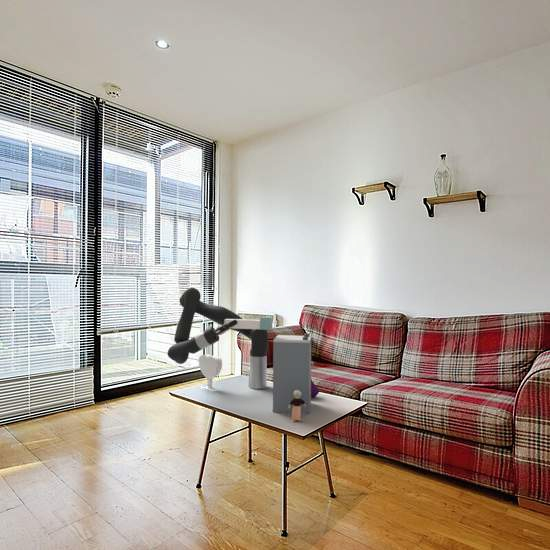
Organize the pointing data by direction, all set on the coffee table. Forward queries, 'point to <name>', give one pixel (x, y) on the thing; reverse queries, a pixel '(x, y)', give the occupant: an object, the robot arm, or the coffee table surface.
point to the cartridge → (252, 323)
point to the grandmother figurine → (296, 406)
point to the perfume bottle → (313, 387)
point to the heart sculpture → (210, 368)
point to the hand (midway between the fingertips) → (237, 320)
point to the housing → (291, 371)
